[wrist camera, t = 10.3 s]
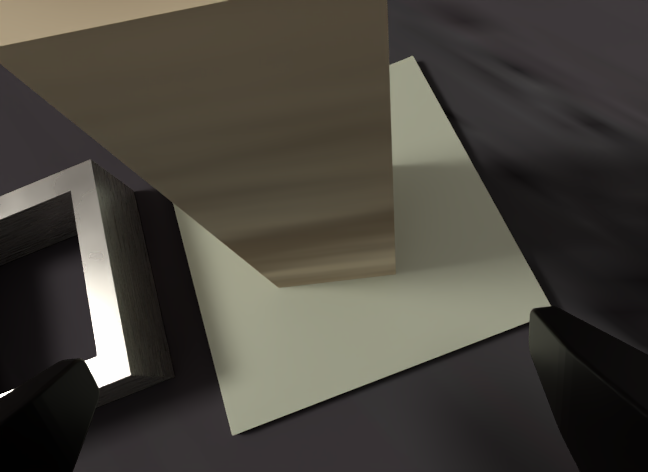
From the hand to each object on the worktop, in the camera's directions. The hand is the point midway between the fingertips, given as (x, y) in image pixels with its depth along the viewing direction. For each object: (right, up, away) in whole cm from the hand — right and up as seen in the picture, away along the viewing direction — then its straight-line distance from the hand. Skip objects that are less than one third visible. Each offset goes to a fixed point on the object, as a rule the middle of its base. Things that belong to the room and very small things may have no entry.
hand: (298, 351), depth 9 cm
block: (+1, +3, +9) cm, 9 cm away
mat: (+1, +3, +9) cm, 10 cm away
